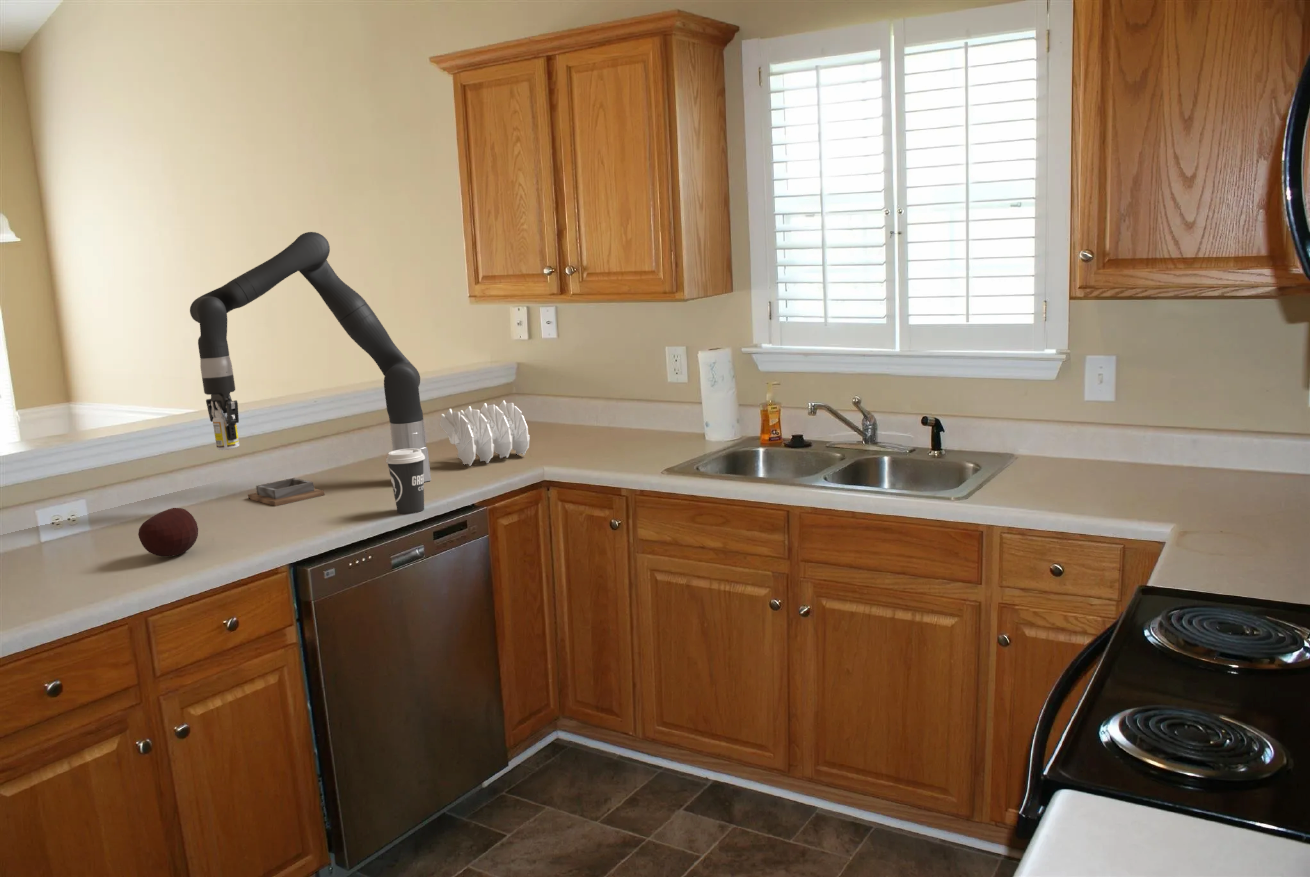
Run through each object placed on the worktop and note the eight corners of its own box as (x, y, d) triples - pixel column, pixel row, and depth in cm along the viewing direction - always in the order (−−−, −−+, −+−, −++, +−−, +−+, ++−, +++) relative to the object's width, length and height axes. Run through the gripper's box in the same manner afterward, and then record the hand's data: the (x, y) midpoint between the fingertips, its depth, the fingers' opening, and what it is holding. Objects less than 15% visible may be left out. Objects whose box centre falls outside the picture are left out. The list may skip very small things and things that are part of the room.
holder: (324, 494, 282) (322, 482, 282) (275, 506, 272) (273, 492, 272) (296, 488, 293) (294, 475, 293) (248, 498, 284) (246, 485, 283)
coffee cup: (410, 516, 252) (404, 456, 249) (383, 513, 257) (376, 454, 254) (438, 507, 259) (432, 448, 257) (410, 504, 265) (404, 447, 262)
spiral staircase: (533, 468, 320) (461, 479, 305) (506, 438, 332) (434, 447, 316) (545, 417, 312) (471, 426, 297) (516, 389, 323) (444, 395, 308)
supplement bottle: (242, 445, 273) (236, 407, 271) (236, 449, 268) (230, 410, 266) (220, 447, 273) (215, 409, 271) (213, 451, 267) (208, 412, 265)
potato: (130, 563, 226) (123, 517, 224) (177, 546, 238) (170, 502, 236) (169, 566, 222) (162, 519, 220) (215, 548, 234) (208, 503, 232)
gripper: (244, 373, 264) (253, 438, 267) (219, 371, 274) (229, 434, 277) (214, 377, 259) (224, 443, 262) (191, 375, 269) (201, 439, 272)
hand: (227, 438), depth 270 cm, fingers closed on supplement bottle, 5 cm apart
